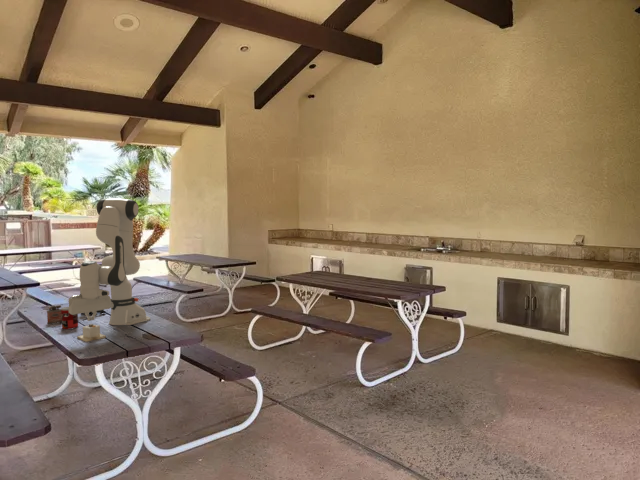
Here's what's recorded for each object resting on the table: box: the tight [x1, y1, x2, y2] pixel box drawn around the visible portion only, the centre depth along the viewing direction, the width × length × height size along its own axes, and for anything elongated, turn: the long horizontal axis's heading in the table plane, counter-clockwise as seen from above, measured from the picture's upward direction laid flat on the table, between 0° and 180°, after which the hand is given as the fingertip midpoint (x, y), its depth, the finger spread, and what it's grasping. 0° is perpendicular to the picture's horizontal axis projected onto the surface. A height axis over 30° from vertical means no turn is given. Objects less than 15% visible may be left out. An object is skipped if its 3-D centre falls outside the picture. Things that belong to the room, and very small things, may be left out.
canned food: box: [60, 306, 79, 330], centre depth 262 cm, size 8×8×11 cm
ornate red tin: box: [46, 304, 62, 325], centre depth 273 cm, size 8×3×10 cm, turn 126°
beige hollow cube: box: [82, 324, 101, 338], centre depth 241 cm, size 6×6×6 cm
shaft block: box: [76, 323, 107, 343], centre depth 241 cm, size 10×10×7 cm
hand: (90, 320), depth 241 cm, fingers closed
